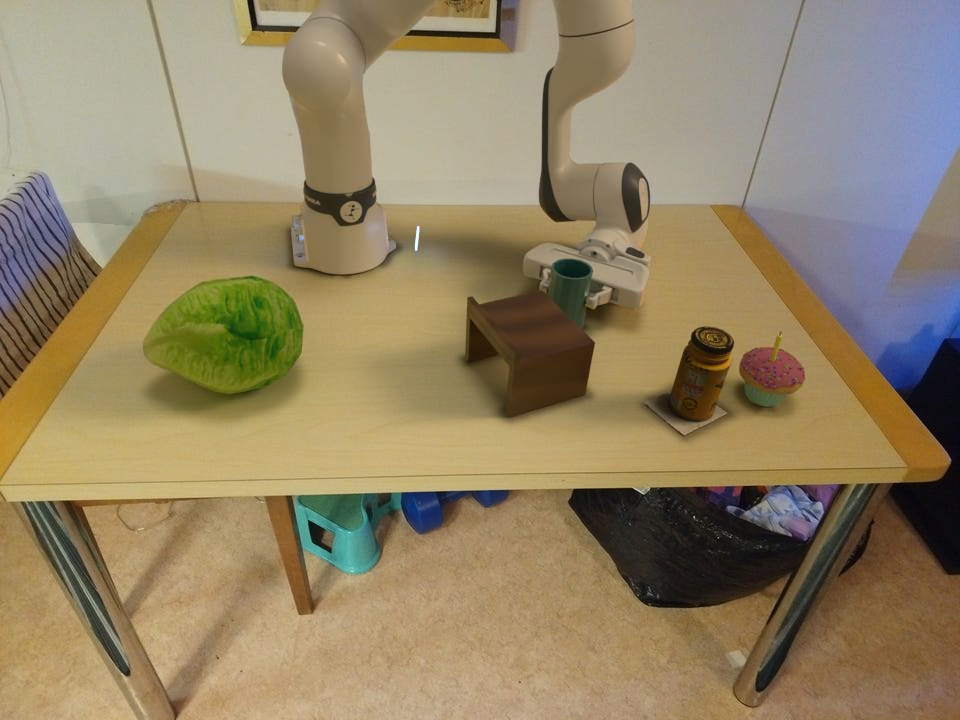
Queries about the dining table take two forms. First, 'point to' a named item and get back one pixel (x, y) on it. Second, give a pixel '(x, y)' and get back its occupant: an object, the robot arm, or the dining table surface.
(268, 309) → the lettuce
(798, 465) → the dining table surface
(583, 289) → the cup
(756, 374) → the cupcake
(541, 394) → the shelf
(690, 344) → the condiment
